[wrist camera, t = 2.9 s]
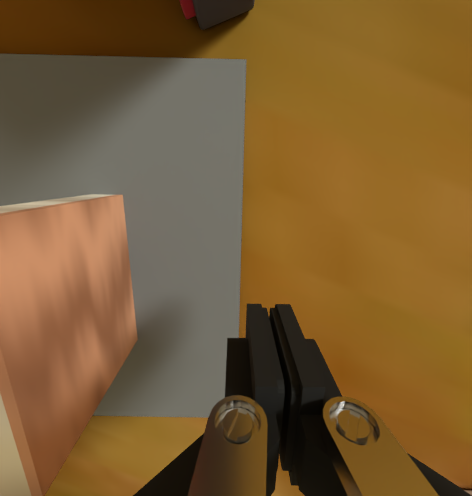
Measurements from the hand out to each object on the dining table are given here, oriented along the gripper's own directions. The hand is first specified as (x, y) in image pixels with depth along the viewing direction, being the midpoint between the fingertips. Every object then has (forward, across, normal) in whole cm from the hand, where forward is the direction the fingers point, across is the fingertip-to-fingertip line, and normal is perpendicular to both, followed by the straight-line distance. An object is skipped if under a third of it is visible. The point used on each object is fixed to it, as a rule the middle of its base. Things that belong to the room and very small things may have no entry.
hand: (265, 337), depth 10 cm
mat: (+8, +10, 0) cm, 13 cm away
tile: (+7, +9, 0) cm, 11 cm away
